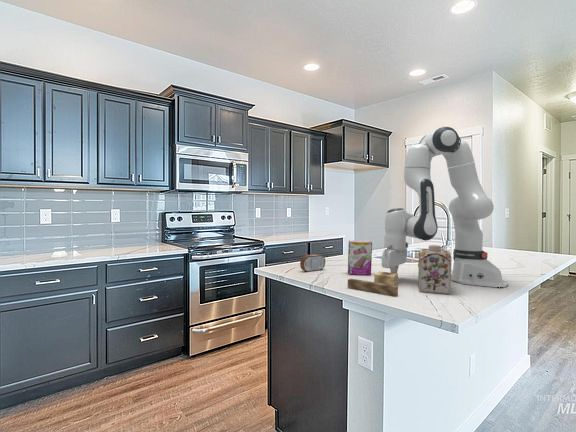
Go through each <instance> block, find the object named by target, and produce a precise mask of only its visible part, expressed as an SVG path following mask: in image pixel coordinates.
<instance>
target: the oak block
mask: <svg viewBox="0 0 576 432" xmlns="http://www.w3.org/2000/svg"><path fill="white" fill-rule="evenodd" d="M398 274H399V273H398V272H397V273H391V272H389V271H378V272H376V273H375V274H374V277H373V282H376V283H382V284H388V285H394V286H398V284H399V283H398V279H399V275H398Z"/></svg>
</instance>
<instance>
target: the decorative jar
mask: <svg viewBox="0 0 576 432" xmlns="http://www.w3.org/2000/svg"><path fill="white" fill-rule="evenodd" d="M452 261H453V259H452V253H451V252H450V251H449V250H445V249H442V246H441V245H437V244H432V245H428V248H422V249H419V252H418V264H417V267H418V273H417V274H418V276H417V277H418V278H417V279H418V291H419V293H428V294H429V293H431V294H440V295H451V292H452V280H451V275H452Z"/></svg>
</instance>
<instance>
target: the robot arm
mask: <svg viewBox="0 0 576 432" xmlns="http://www.w3.org/2000/svg"><path fill="white" fill-rule="evenodd" d="M440 155H441V156H443V158H444V159H445V161H446V162H445V163H446V167H447V173H448V177H449V181H450V182H449V183H450V185H451V187H452V188H453V189H454V191H455V192H456V195H457V196H456V197H455V198H453V199H451V201H450V202H449V204H448V210H449V212H450V214H451V216H452V222H453V228H454V235H455V237H454V249H453V251H452V252H453V259H452V260H453V266H452V270H451V281H454V282H456V283H459V284H462V285H469V286H477V287H487V288H488V287H490V288H497V287H499V288H500V287H503V288H506V287H508V286H507V285H508V281H506V280H505V279H504V280H503V276H502V272H501V270H500V268H499V267H498V266H496V265H495V264H494V263H492V262H491V261H490V260H488V252H487V251H485V250H483V241H484V240H483V239H484V238H483V237H484V234H483V231H482V229H481V228H480V227H481V226H480V225H479V221H478V220H483V219H486V218H489V217H490V216H491V214H492V213H493V212H494V203H493V201H492V200H491V198H490V197H488V195H487V194H486V192H485V190H484V189H483V187H482V184H481V183H480V180H479V176H478V172H477V168H476V163H475V158H474V156H473V153H472V149H471V148H470V145H469V143H468V142H467V141H465V140H462V139H461V137H460V136H459V134H458V131H456V130H455V129H454V128H453V127H450V126H442V127H439V128H436V129H435V130H432V131H431V132H429V133H428V134H425V135H424V136H423V137H422V138H421V139H420V141H419V143H416V144H413V145H412V144H411V146H410V147H409V148H408V149H407V152H406V156H405V162H404V168H403V180H404V183H405V184H406V186H408V187H409V188H410V189H411V190H413V191H414V192H416V194H417V196H418V203H419V204H418V205H419V207H418V208H419V215H418V216H417V215H413V214H411V213H409V212H408V211H406V209H405V208H402V207H398V208H391V209H389V210H387V211H386V213H385V220H384V230H385V235H384V250H383V251H382V256H381V267H382V268H384V269H389V270H390V273H398V270H399V268H400V267H399V266H401V265H403V264H405V263H406V262H407V256H408V247H409V243H408V242H407V240H406V237H410V238H415V239H419V240H422V241H430V240H432V239H434V237H435V236H436V235H437V233H438V229H439V228H438V227H439V225H438V222H437V217H436V205H435V203H436V202H435V187H434V186H435V185H434V183H433V181H432V178H431V177H432V176H431V166H432V165H431V163H432V159H433V157H437V156H440ZM499 288H498V289H499ZM500 289H501V288H500Z"/></svg>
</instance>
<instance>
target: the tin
mask: <svg viewBox="0 0 576 432" xmlns="http://www.w3.org/2000/svg"><path fill="white" fill-rule="evenodd" d="M299 264H300V265H299V266H300V269H301V270H302V271H304V272H307V273H308V272H317V271H322V270H323V269H325V267H326V257H325V256H324V255H322V254H319V253H314V254H305V255H304V256H303V257H302V258H301V259H300V262H299Z"/></svg>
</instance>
